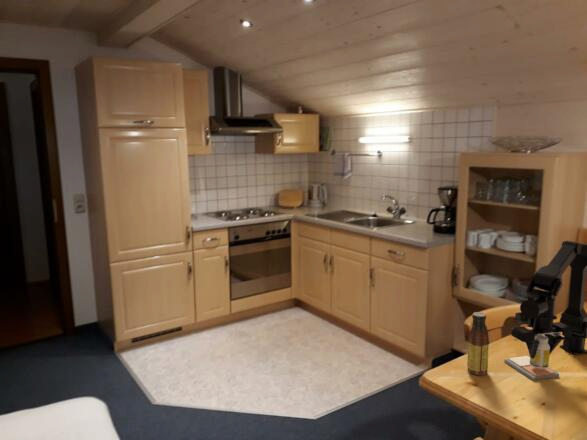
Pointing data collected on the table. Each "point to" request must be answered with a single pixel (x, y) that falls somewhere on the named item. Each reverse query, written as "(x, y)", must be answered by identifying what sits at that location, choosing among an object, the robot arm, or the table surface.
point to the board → (530, 368)
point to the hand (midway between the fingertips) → (539, 356)
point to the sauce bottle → (478, 346)
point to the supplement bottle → (541, 353)
